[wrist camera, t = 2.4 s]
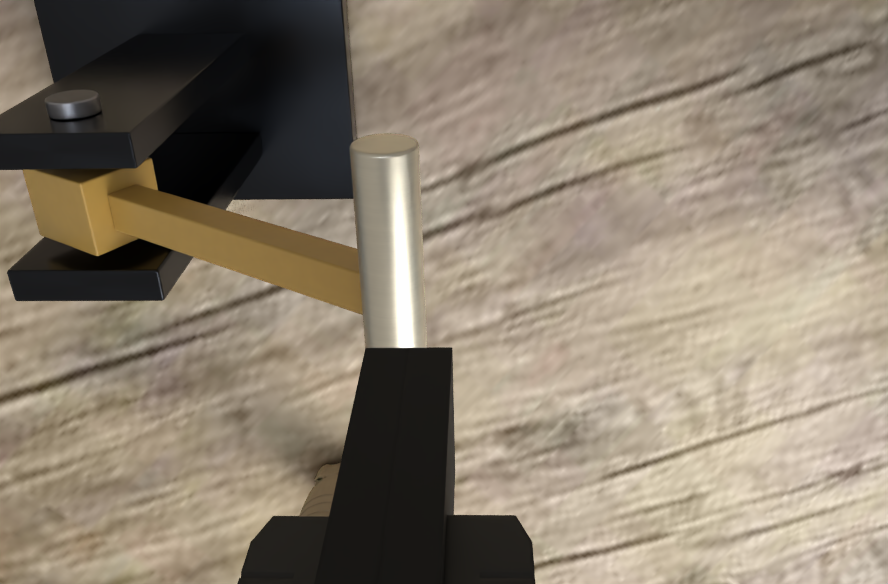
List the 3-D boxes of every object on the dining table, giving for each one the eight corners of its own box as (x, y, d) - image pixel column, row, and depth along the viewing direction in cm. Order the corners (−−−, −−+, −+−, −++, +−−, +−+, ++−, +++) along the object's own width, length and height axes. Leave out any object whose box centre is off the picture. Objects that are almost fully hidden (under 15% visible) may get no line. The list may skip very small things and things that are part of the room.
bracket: (344, -29, 33) (265, 51, 21) (361, 189, 37) (303, 360, 25) (42, -23, 34) (-206, 59, 21) (92, 191, 38) (-91, 360, 26)
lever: (445, 132, 18) (374, 166, 16) (451, 402, 21) (393, 453, 20) (75, 62, 25) (-4, 81, 23) (123, 275, 28) (59, 306, 26)
